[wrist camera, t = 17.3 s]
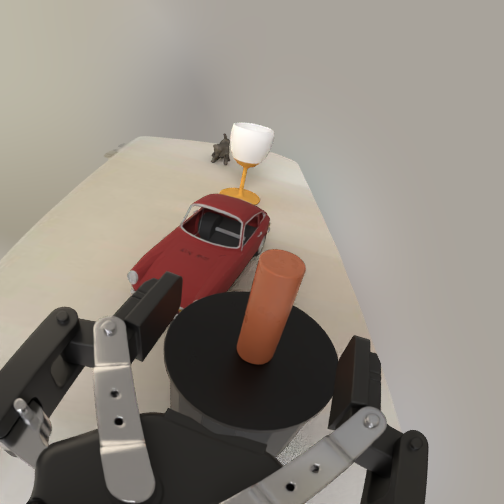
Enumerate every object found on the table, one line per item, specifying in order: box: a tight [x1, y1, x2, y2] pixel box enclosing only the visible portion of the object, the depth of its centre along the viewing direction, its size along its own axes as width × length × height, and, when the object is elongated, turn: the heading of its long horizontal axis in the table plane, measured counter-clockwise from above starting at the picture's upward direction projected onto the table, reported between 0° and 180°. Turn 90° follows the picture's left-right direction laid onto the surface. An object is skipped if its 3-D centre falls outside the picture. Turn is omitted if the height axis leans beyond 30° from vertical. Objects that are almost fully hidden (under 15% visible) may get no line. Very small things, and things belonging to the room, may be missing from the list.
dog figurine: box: [211, 134, 230, 165], centre depth 87 cm, size 12×6×7 cm, turn 178°
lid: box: [164, 249, 338, 433], centre depth 19 cm, size 12×12×9 cm
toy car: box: [127, 194, 270, 319], centre depth 43 cm, size 11×25×10 cm, turn 160°
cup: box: [220, 122, 274, 205], centre depth 65 cm, size 9×9×16 cm
